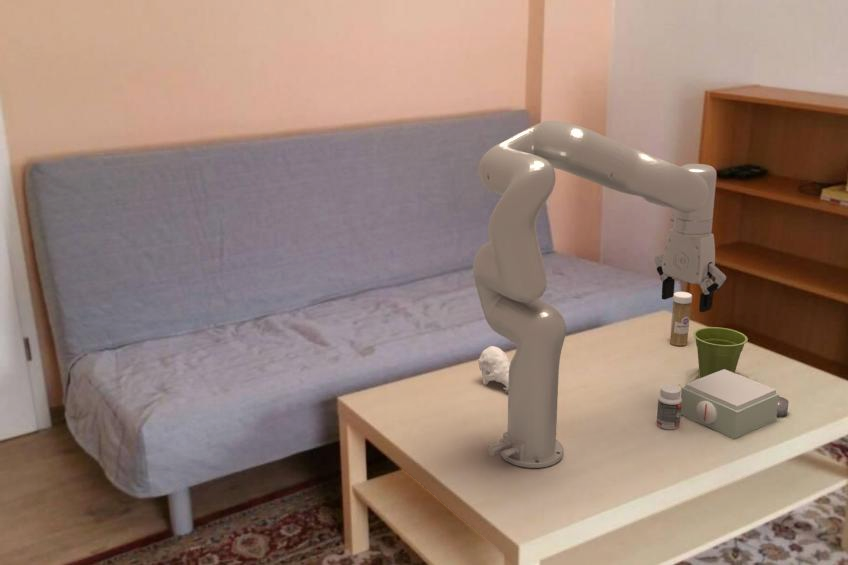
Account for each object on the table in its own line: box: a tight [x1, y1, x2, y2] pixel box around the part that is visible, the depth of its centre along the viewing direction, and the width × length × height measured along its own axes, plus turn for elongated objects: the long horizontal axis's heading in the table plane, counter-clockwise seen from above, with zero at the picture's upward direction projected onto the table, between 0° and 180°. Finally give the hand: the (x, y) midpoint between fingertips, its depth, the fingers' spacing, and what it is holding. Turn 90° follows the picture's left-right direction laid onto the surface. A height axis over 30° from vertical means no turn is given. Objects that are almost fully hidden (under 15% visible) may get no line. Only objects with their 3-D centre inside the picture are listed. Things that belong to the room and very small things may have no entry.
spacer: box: [776, 396, 790, 419], centre depth 190 cm, size 4×4×3 cm
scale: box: [680, 369, 780, 439], centre depth 188 cm, size 15×14×7 cm
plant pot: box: [692, 326, 749, 379], centre depth 204 cm, size 12×12×11 cm
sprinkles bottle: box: [669, 291, 693, 347], centre depth 225 cm, size 5×5×14 cm
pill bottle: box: [655, 384, 682, 430], centre depth 184 cm, size 5×5×8 cm
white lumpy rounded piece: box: [477, 345, 511, 393], centre depth 203 cm, size 6×8×12 cm
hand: (686, 304), depth 186 cm, fingers open, 9 cm apart
